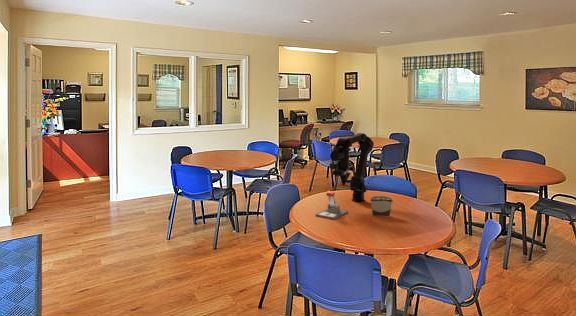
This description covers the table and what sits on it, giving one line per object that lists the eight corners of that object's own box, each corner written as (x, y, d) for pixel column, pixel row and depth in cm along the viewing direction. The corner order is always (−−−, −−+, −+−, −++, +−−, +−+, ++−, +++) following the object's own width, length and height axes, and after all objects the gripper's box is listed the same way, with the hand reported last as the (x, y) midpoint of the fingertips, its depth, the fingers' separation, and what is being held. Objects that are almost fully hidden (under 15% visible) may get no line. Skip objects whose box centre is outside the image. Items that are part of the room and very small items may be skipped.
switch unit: (329, 209, 247) (329, 201, 246) (347, 212, 240) (348, 204, 239) (315, 216, 233) (315, 207, 233) (334, 219, 227) (335, 210, 226)
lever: (331, 206, 240) (327, 190, 235) (338, 207, 237) (334, 191, 232) (329, 208, 239) (325, 192, 233) (336, 209, 236) (332, 193, 231)
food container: (390, 213, 238) (391, 196, 237) (392, 216, 232) (393, 198, 231) (368, 212, 240) (369, 195, 238) (369, 215, 234) (370, 198, 232)
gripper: (338, 155, 261) (338, 180, 263) (324, 159, 245) (324, 186, 248) (355, 157, 255) (355, 182, 257) (341, 161, 239) (341, 188, 242)
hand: (343, 184), depth 251 cm, fingers closed
